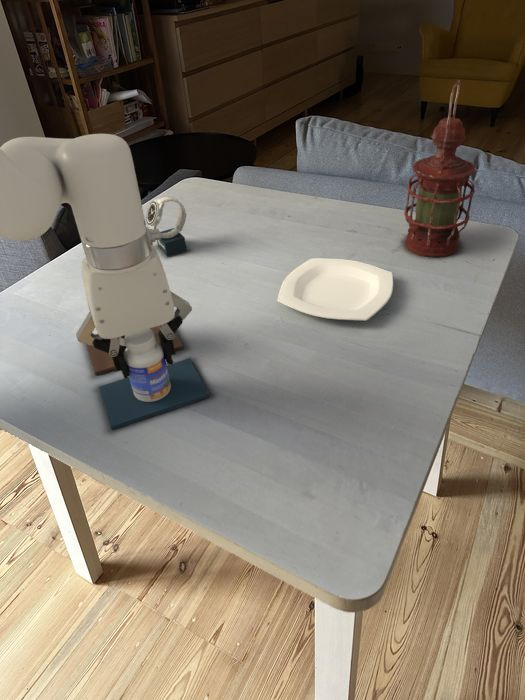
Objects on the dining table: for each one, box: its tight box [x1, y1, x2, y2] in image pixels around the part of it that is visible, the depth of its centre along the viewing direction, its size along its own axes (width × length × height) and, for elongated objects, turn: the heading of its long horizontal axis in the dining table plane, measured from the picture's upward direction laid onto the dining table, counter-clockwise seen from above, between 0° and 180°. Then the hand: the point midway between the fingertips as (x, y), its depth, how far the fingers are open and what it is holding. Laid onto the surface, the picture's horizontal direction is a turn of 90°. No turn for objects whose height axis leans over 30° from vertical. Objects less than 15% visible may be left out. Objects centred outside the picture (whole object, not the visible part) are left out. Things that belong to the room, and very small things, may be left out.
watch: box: [145, 195, 188, 258], centre depth 109 cm, size 6×8×11 cm
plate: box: [277, 257, 394, 322], centre depth 94 cm, size 19×19×2 cm
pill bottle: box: [124, 329, 171, 402], centre depth 74 cm, size 5×5×10 cm
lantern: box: [403, 79, 476, 258], centre depth 98 cm, size 12×12×30 cm
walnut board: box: [85, 326, 184, 376], centre depth 86 cm, size 14×9×1 cm, turn 114°
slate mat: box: [98, 358, 210, 430], centre depth 77 cm, size 14×9×1 cm, turn 114°
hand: (146, 364), depth 74 cm, fingers open, 5 cm apart
